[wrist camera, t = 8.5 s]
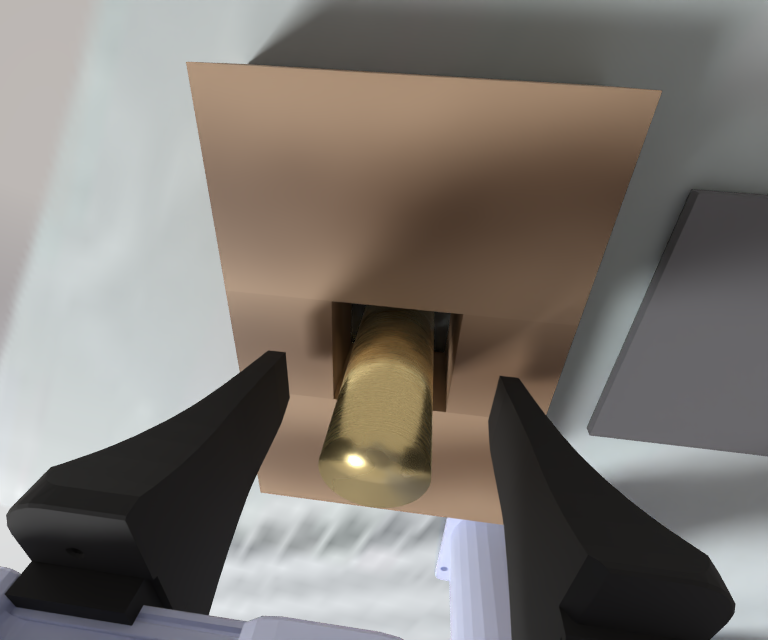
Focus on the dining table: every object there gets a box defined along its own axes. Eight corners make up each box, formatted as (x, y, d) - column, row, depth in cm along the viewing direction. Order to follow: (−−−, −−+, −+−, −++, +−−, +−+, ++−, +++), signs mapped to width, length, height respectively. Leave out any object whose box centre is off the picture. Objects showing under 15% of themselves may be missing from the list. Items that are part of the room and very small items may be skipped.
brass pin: (430, 335, 19) (425, 514, 11) (367, 329, 19) (320, 500, 12) (437, 277, 17) (437, 440, 10) (368, 271, 18) (315, 426, 10)
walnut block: (496, 457, 23) (506, 525, 19) (286, 431, 24) (260, 492, 20) (604, 85, 13) (662, 90, 10) (246, 64, 14) (186, 61, 11)
